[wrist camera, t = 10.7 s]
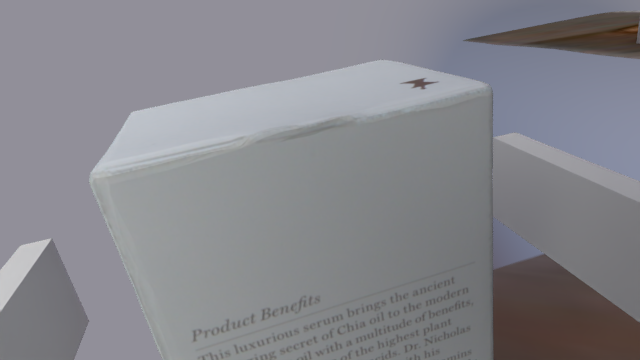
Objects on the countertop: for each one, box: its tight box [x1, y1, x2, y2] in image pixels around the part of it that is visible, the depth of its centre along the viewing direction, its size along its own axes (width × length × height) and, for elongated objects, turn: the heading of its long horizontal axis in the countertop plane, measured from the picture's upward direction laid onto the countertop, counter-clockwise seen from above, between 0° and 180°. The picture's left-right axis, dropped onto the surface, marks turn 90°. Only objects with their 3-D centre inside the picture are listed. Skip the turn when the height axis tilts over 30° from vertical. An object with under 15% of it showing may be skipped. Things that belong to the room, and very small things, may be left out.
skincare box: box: [89, 60, 493, 360], centre depth 10 cm, size 6×4×12 cm
